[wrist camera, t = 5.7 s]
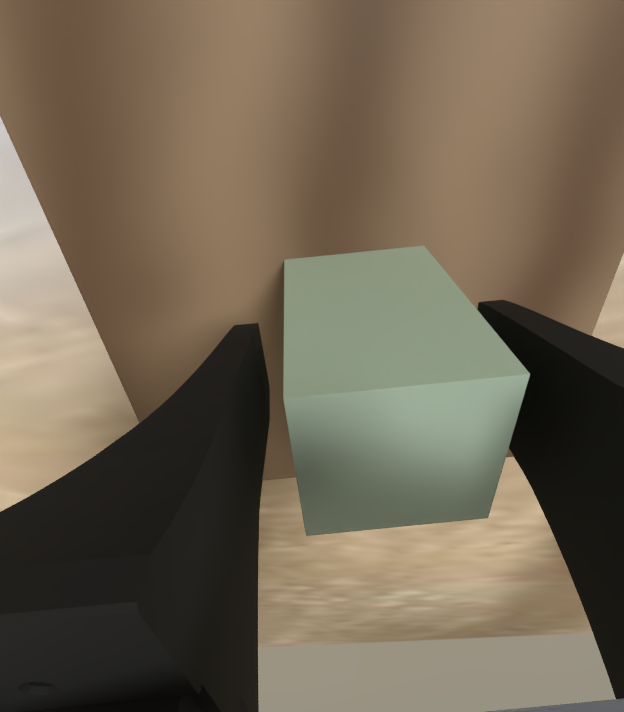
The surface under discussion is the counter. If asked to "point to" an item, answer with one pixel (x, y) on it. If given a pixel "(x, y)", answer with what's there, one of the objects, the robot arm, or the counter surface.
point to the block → (393, 392)
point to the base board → (313, 158)
